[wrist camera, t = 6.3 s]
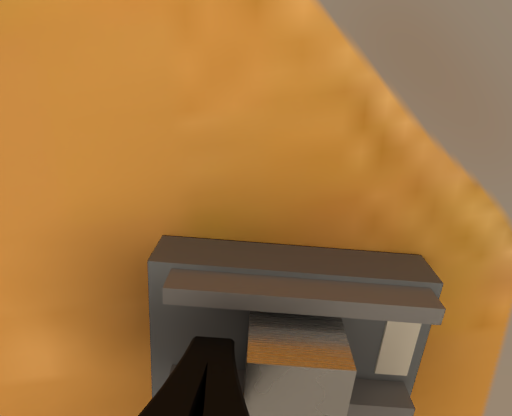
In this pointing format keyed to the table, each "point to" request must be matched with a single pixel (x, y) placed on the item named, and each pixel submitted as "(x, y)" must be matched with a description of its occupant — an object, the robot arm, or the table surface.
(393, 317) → the control panel
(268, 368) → the slider knob
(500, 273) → the table surface
